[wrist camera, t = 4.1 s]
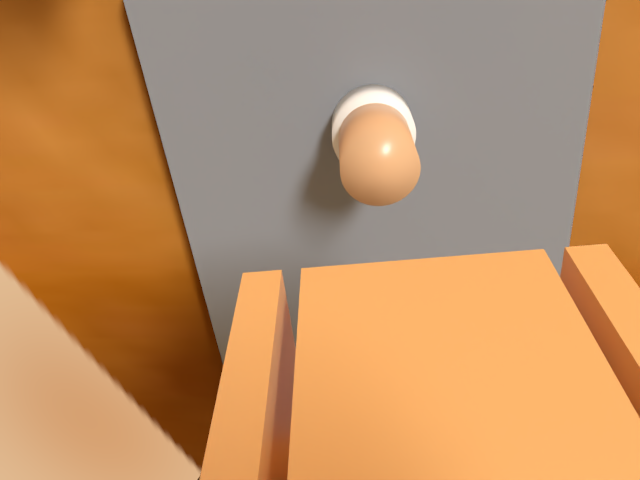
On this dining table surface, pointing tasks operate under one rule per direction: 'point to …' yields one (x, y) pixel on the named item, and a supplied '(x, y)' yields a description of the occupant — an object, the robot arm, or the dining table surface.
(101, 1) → the dining table surface
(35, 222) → the dining table surface
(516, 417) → the orange grooved cube
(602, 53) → the dining table surface
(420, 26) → the grey base plate
